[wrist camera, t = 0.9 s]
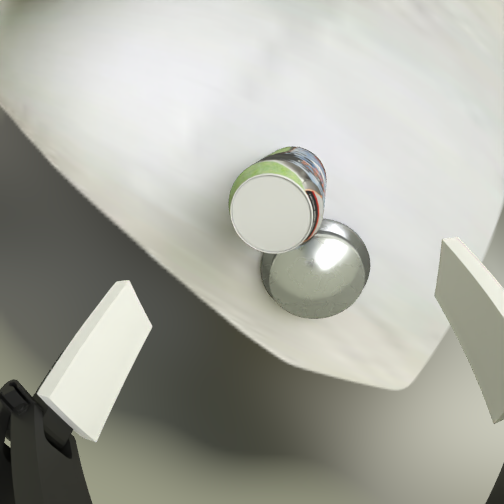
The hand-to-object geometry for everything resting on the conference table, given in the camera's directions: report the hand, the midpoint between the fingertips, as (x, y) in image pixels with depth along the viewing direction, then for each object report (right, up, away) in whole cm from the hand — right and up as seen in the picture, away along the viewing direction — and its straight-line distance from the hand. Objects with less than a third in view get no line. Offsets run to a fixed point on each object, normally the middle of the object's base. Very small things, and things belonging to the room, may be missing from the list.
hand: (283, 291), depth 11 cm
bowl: (+6, 0, +20) cm, 21 cm away
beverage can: (+2, +9, +16) cm, 18 cm away
